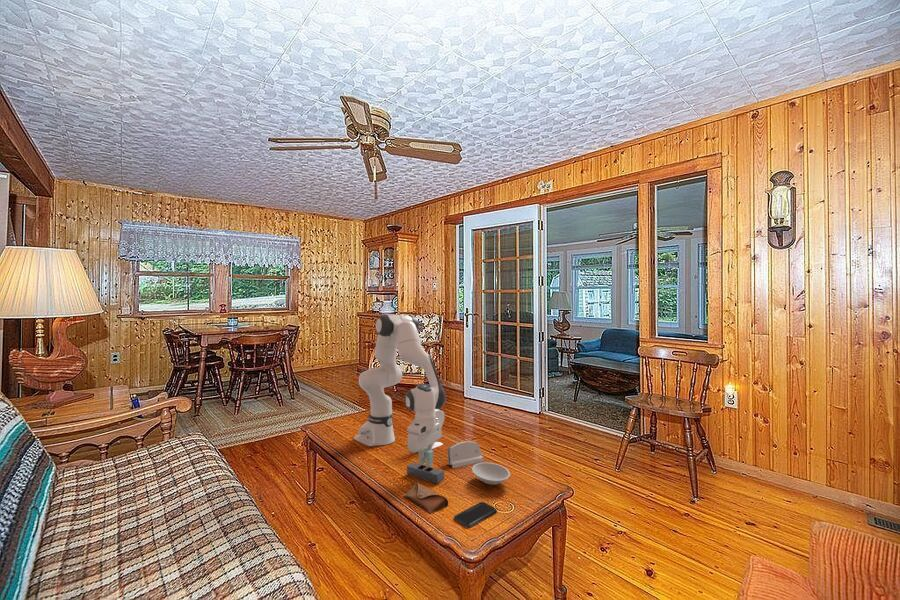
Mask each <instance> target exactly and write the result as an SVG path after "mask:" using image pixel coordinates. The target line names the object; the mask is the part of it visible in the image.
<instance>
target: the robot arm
mask: <svg viewBox="0 0 900 600" xmlns="http://www.w3.org/2000/svg"><path fill="white" fill-rule="evenodd" d="M419 330H420V322H419V319H418V318H417V317H416V316H414V315H410V314H407V315H406V314H382V315H379V316H378V317H377V318H376V321H375V332H376V333H377V338H376V343H375V347H374V358H375V359H376V360H377V361H378V362H380V364H379V366H378V367H374V368H369V369H367V370H364V371H362V372H361V373H359V376H358V385H359V387H360V388H361V389H362V390H363V391H364V392H365V393H366V395H368V398H369V404H370V413H369V414H368V415H366V417H367V418H368V419H367V421H366V422H364V423H363V424H362V425H361V426H360V427H359V429H358V434H356V435H354V437H353V440H354V441H357V442H359V443H360V444H363V445H365V446H366V447H367V446H368V447H375V446H385V445H389V444H393V443H394V442H395V441H396V437H395V433H394V427H393V419H394V413H393V403H392V402H393V401H392V398H391V397H390V396H389V395H387V394H386V393H385V388H389V387H393V386H395V385H397V384H399V383H400V382H401V381H402V380H403V371H402V369H401V368H400V366H398V364H397V354H398V355H399V357H400V359H401V360H402V361H404V362H406V363H407V364H411V365H414V366H417V367H419V368H421V369H423V371H424V372H425V374H426V378H427V381H428V383H429V384H428V383H421V384H417V385H416V387H414V388H410V389H409V390H408V391H407V392H406V394H405V396H404V404H405V407H406V408H407V410H409V411H411V412H414V414H415V415H414V419H413V421H412V422H411V423H409V425H408V426H407V427H406V430H407V432H408V434H407V442H406V443H407V445H406V446H407V450H408V452H410V453H413V454H416V453H417V452H418V451H419V453H420V457H421V458H424V457H425V453H424V451H423V450H424V448H425V447H427V446H428V447H427V449H429V450H433V449H432V446H433V443H435V442H438V441H439V440H440V439H441V438H442V436H443V432H442V427H441V424H440V420H439V419H438V418H436V414H435V409H438V410H440V409H441V408H442V407H444V406H445V405H446V402H447V395H446V390H445V389H444V387H443V385H442V382H441V381H440V378H439V375H438V373H437V372H438V371H437V369H436V367H435V363H434V361H433V359H432V357H431V355H430V353H428V352H426V351H425V349H424V348H423V346H422V342H421V339H420V334H419V332H418V331H419ZM397 352H398V353H397Z"/></svg>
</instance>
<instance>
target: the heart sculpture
mask: <svg viewBox="0 0 900 600" xmlns="http://www.w3.org/2000/svg"><path fill="white" fill-rule="evenodd" d="M435 414H436V418H438V419H439V420H440V424H441V428H442V427H443V426H444V425H443V424H444V422H445V416H446V414H445V411H444V410H440V409H435ZM442 445H444V443H443V442H440V441H435V442H434V443H433V446H432V449H431V450H433V449H435V448H438V447H440V446H442ZM427 447H428V446H427ZM427 447H425V449H427Z"/></svg>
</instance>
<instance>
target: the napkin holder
mask: <svg viewBox="0 0 900 600" xmlns="http://www.w3.org/2000/svg"><path fill="white" fill-rule="evenodd" d="M484 460H485V459H484V456H483V454H482V451H481V447H480V445H479V443H478V442H475V441H470V440H469V441H461V442H457V443H455V444H452V445H451V446H450V447H448V448H447V464H448V465H450V466H451V467H452V469H456V468H460V467H464V466H469V465H473V464H474V465H475V464H478V463H483V462H485V461H484Z"/></svg>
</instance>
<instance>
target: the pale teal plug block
mask: <svg viewBox="0 0 900 600" xmlns="http://www.w3.org/2000/svg"><path fill="white" fill-rule="evenodd" d="M423 451H424V453H425V457H424V458H421V457H420V453H419V451H418V455H417V456H418V458H419V462H418V463H419V464H421V465H425V464H426V466H428V467H432V466H433V465H434V463H433V458H434V450H433V449H431V450H429V449H425V448H424V450H423Z"/></svg>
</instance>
